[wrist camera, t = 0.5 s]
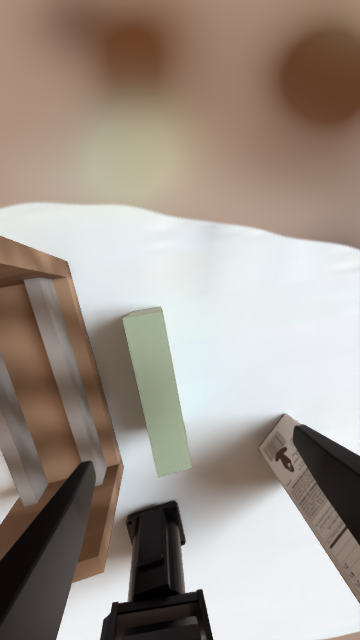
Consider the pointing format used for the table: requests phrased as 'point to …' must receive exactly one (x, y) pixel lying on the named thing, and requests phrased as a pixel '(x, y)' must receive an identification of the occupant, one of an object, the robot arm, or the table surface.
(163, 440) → the door panel
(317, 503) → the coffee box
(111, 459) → the cabinet base
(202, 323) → the table surface
